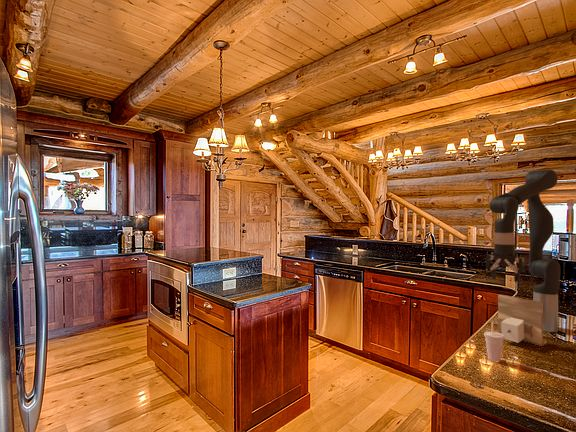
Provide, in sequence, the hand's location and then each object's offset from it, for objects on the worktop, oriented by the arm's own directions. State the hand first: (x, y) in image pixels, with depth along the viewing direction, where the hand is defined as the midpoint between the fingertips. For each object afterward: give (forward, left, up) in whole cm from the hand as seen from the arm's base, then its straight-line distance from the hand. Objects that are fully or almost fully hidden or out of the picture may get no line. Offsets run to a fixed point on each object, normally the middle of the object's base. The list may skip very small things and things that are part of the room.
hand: (504, 280), depth 140 cm
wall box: (+2, +4, -24) cm, 24 cm away
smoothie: (+26, +7, -26) cm, 37 cm away
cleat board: (-4, +4, -26) cm, 26 cm away
